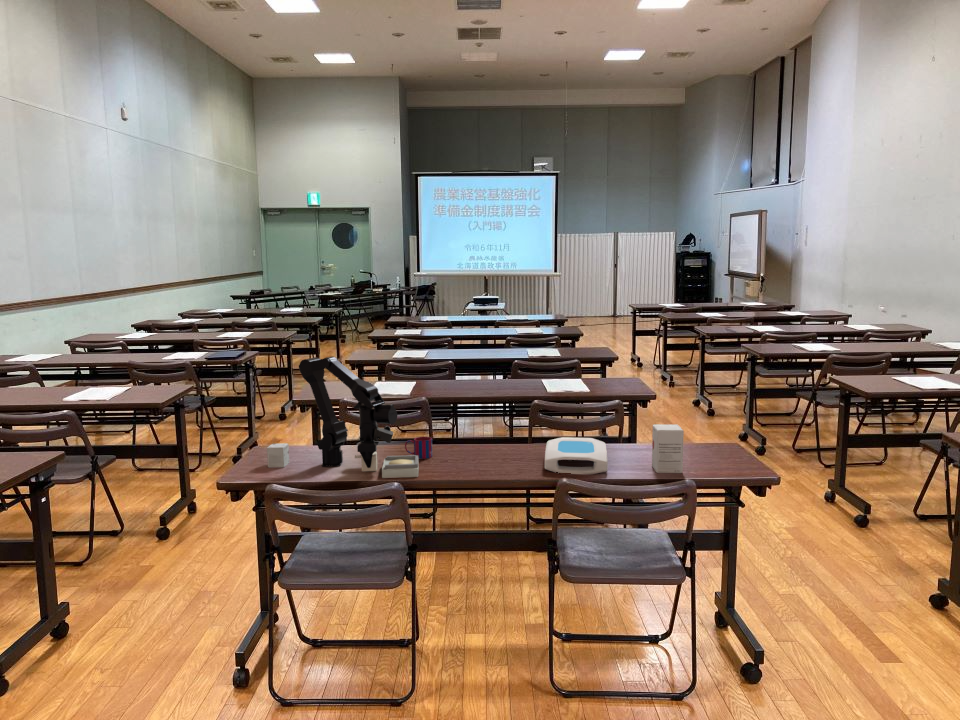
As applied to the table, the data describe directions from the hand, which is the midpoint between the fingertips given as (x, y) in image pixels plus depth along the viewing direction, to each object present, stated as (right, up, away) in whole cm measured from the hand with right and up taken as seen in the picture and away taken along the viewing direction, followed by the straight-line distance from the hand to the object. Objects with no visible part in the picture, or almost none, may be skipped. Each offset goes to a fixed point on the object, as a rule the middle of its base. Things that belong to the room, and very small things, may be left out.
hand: (369, 465), depth 245 cm
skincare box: (-34, -1, +7) cm, 34 cm away
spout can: (-1, -1, 0) cm, 2 cm away
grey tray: (+11, -2, -3) cm, 12 cm away
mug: (+16, +1, +16) cm, 23 cm away
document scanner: (+73, 0, +6) cm, 73 cm away
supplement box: (+103, -1, -4) cm, 103 cm away
